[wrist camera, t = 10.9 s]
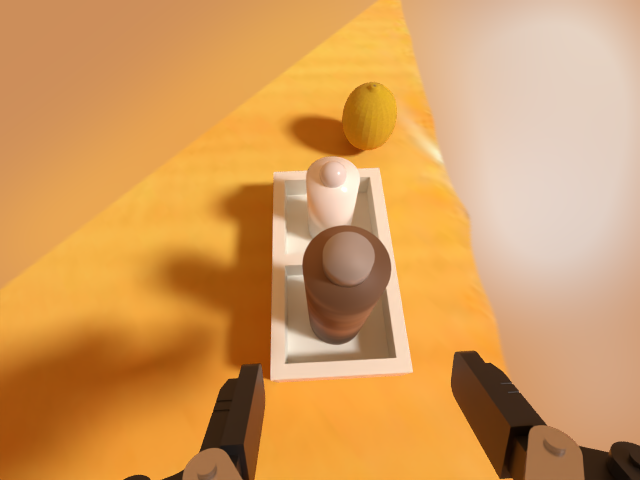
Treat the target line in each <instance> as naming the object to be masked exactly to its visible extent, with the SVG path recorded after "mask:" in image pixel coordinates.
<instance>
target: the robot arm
mask: <svg viewBox="0 0 640 480" xmlns="http://www.w3.org/2000/svg"><path fill="white" fill-rule="evenodd" d="M451 388H452V392H453V395H454V397H455V399H456V401H457V403H458V405H459V406H460V408H461V410H462V412H463V414H464V415H465V417H466V419H467V421H468V423H469V424H470V426H471V428H472V430H473V432H474V433H475V435H476V437H477V439H478V441H479V442H480V444H481V446H482V448H483V449H484V451H485V453H486V455H487V457H488V458H489V460H490V462H491V464H492V466H493V467H494V469H495V471H496V473H497V475H498V476H499V478H500V479H505V478H513V480H640V446H639V445H636V444H633V443H629V442H616V443H614V444H613V445H612V446H611V449H610V451H609V452H604V451H600V450H595V449H590V448H585V447H581V446H578V445H577V444H576V442H575V441H574V440H573V439H571V438H570V437H569V436H568V435H567V434H565V433H564V432H562V431H560V430H558V429H556V428H553V427H550V426H547V425H546V424H545V422H544V421H543V420H542V419H541V417H540V416H539V415H538V414H537V413H536V411H535V410H534V409H533V408H532V406H531V405H530V404H529V403H528V402H527V400H526V399H525V398H524V397H523V396H522V394H521V393H519V391H518V389H517V388H516V387H515V386H514V385H513V384H512V382H511V381H510V380H509V378H508V377H507V376H506V375H505V374H504V372H503V371H501V370H500V369H498V368H497V367H496V366H494V365H493V364H491V363H485V362H484V361H483V360H482V358H481V357H480V356H479V354H478V353H477V352H476V351H461V352H455V354H454V360H453V368H452V377H451ZM264 410H265V390H264V382H263V374H262V366H261V364H260V363H259V364H243V365H242V366H241V370H240V374H239V377H238V378H236V379H228V380H227V382H226V383H225V384H224V385H223V386H222V388H221V389H220V391H219V394H218V397H217V401H216V404H215V407H214V410H213V413H212V416H211V419H210V422H209V425H208V428H207V431H206V434H205V437H204V440H203V443H202V446H201V449H200V451H199V453H198V454H197V455H195V456H194V457H193V458H192V459H191V460H190V461H189V463H188V464H187V466H186V468H185V469H184V470H183V471H181V472H179V473H177V474H175V475H173V476H170V477H168V478H165V479H162V480H254V479H255V472H256V465H257V458H258V451H259V444H260V437H261V431H262V424H263V417H264ZM124 480H150V478H148V477H147V476H144V475H134V476H131V477H128V478H126V479H124Z"/></svg>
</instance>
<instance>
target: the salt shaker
mask: <svg viewBox="0 0 640 480" xmlns="http://www.w3.org/2000/svg"><path fill="white" fill-rule="evenodd" d="M359 183H360V175H359V172H358V170H357V168H356V167H355V165H353V164H352V163H351V162H350V161H348V160H346V159H344V158H341V157H334V156H330V157H324V158H321V159H319V160H317V161H315V162H314V163H313V164H312V165H311V166H310V167H309V169H308V171H307V174H306V189H307V211H308V229H309V233H310V235H311V237H312V238H314V237H315V236H316V235H318V234H319V233H320V232H322V231H324V230H326V229H328V228H331V227H335V226H341V225H350V226H351V223H352V218H353V213H354V208H355V203H356V198H357V193H358V188H359Z"/></svg>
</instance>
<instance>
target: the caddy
mask: <svg viewBox="0 0 640 480" xmlns="http://www.w3.org/2000/svg"><path fill="white" fill-rule="evenodd" d="M357 170H358V172H359V175H360V183H359V188H358V193H357V198H356V203H355V208H354V213H353V218H352V223H351V226H356V227H360V228H362V229H365V230H367V231H369V232H371V233H372V234H373V235H375V236H376V237H377V238H378V239H379V240H380V241H381V242H382V243H383V245H384V246H385V248H386V249H387V251H388V254H389V257H390V261H391V276H390V280H389V283H388V285H387V287H386V289H385V290H384V292H383V294H382V295H381V297H380V298H379V300H378V302H377V303H376V305H375V307H374V308H373V310H372V311H371V313H370V315H369V316H368V318H367V319H366V321H365V323H364V324H363V326H362V328H361V329H360V331H359V332H358V334H357V335H356V336H355V337H354V338H353V339H352V340H351V341H349V342H347V343H345V344H341V345H332V344H328V343H325V342H323V341H322V340H320V339H319V338H318V337H317V336H316V335H315V334H314V332H313V330H312V328H311V326H310V321H309V314H308V306H307V299H306V292H305V284H304V277H303V269H302V262H303V256H304V253H305V250H306V248H307V246H308V244H309V243H310V242H311V240H312V239H313V238H312V237H311V235H310V233H309V229H308V211H307V189H306V174H307V171H290V172H274V190H273V250H272V310H271V370H270V380H272V381H275V382H292V381H310V380H329V379H347V378H365V377H383V376H401V375H404V374H408V373H412V372H413V369H412V363H411V357H410V351H409V345H408V339H407V333H406V327H405V321H404V315H403V309H402V303H401V297H400V291H399V285H398V278H397V272H396V266H395V260H394V254H393V248H392V242H391V236H390V230H389V224H388V218H387V212H386V206H385V200H384V194H383V188H382V182H381V175H380V169H379V168H363V169H357Z"/></svg>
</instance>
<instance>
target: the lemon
mask: <svg viewBox="0 0 640 480" xmlns="http://www.w3.org/2000/svg"><path fill="white" fill-rule="evenodd" d="M396 118H397V108H396V101H395V98H394V96H393V94H392V92H391V91H390V90H389V89H388V88H387V87H385V86H384V85H382V84H380V83H374V82H370V83H365V84H362V85H360V86H359V87H357V88H356V89H355V90H354V91H353V92H352V93H351V94H350V96H349V97H348V99H347V101H346V104H345V106H344V110H343V116H342V126H343V131H344V134H345V136H346V138H347V140H348V141H349V142H350V143H351V144H352V145H353V146H354V147H356V148H358V149H361V150H372V149H376V148H378V147H380V146H382V145H383V144H384V143H385V142H386V141H387V140H388V139H389V137H390V135H391V134H392V132H393V130H394V127H395V123H396Z"/></svg>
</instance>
